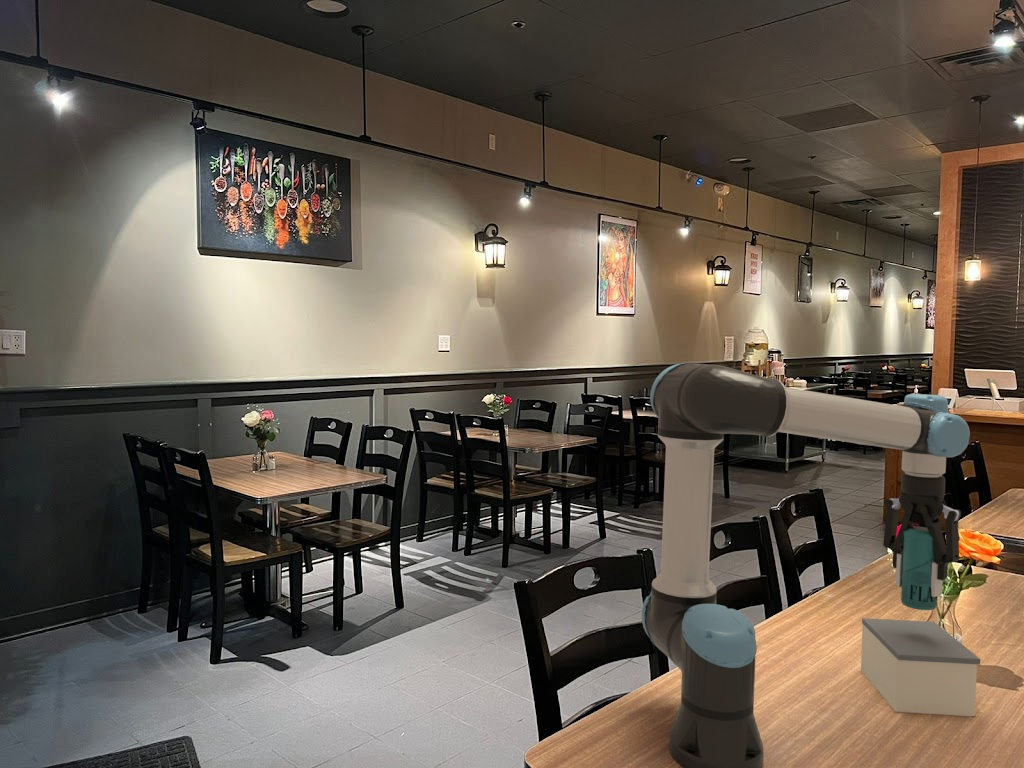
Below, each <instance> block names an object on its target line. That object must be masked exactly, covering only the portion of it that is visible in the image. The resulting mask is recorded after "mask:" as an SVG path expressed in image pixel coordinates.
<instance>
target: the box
mask: <svg viewBox="0 0 1024 768" xmlns="http://www.w3.org/2000/svg"><path fill="white" fill-rule="evenodd" d="M861 630H862V631H861V632H862V633H861V655H860V671H861V672H862V673H863V675H864V676H865V678H867V680H868V681H869V682H870V683H871V684H872V686H874V688H875V689H876V691H878V693H879V695H881V696H882V697H883V699H884V700H885V701H886V703H887V704H888V705H889V706H890V707H891V708H892V709H893V710H894V712H896V713H908V714H909V713H910V714H925V715H927V714H928V715H940V716H941V715H942V716H943V715H945V716H959V717H972V716H976V697H977V675H978V673H977V672H978V671H977V670H978V664H963V663H945V662H927V661H908V660H898V659H897V658H896V657H895V656H894V655H893V654H892V653H891V652H890V651H889V650H888V649H887V648H886V647H885V646H884V645H883V644H882V643H881V642H880V641H879V640H878V639H877V638H876V637H875V636H874V635H873V634H872V633H871V632H870V631H869V629H868V628H867V627H866V626H865V625H864V624H863V623H862V629H861Z"/></svg>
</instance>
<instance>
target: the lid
mask: <svg viewBox="0 0 1024 768" xmlns="http://www.w3.org/2000/svg"><path fill="white" fill-rule="evenodd" d="M861 623H862V624H864V625H865V626H866V627H867V628H868V629H869V631H870V632H871V633H872V634H873V635H874V636H875V637H876V638H877V639H878V640H879V641H880V642H881V643H882V644H883V645H884V646H885V647H886V648H887V649H888V650H889V651H890V652H891V653H892V654H893V655H894V656H895V657H896V658H897V659H898V660H908V661H927V662H945V663H963V664H977V665H981V660H982V659H981V658H980V657H978V656H977V655H976V654H975V653H974V652H972V651H971V650H970V649H969V648H968V647H966V646H965V645H963V643H962V644H961V643H960V642H959V641H957V640H956V639H955V638H954V637H953V636H951V635H950V634H949V633H948V632H946V631H945V630H944V628H943V627H941V626H940V625H939V624H937V622H935V621H931V620H930V621H928V620H927V621H925V620H906V619H905V620H904V619H886V618H882V619H881V618H865V617H862V618H861Z"/></svg>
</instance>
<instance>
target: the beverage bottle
mask: <svg viewBox="0 0 1024 768" xmlns="http://www.w3.org/2000/svg"><path fill="white" fill-rule="evenodd" d="M910 522H913V523H914V524H918V525H925V522H924V518H923V515H922V513H917V512H913V513H912V516H911V519H910ZM932 522H933V523H934V521H932ZM932 541H933V538H932V537H931V535H930V534H929V531H928V528H926V526H913V527H910V528H909V529H907V530H906V531H905V532H904V547H903V572H902V582H901V584H902V587H900V589H901V591H900V601H901V604H902V605H904V606H906V607H907V608H911V609H914V610H920V611H933V610H935V609H936V608H937V605H938V602H939V601H938V597H939V596H936V597H933V596H931V575H932V562H935V561H936V557H935V553H934V550H933V546H932Z"/></svg>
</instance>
